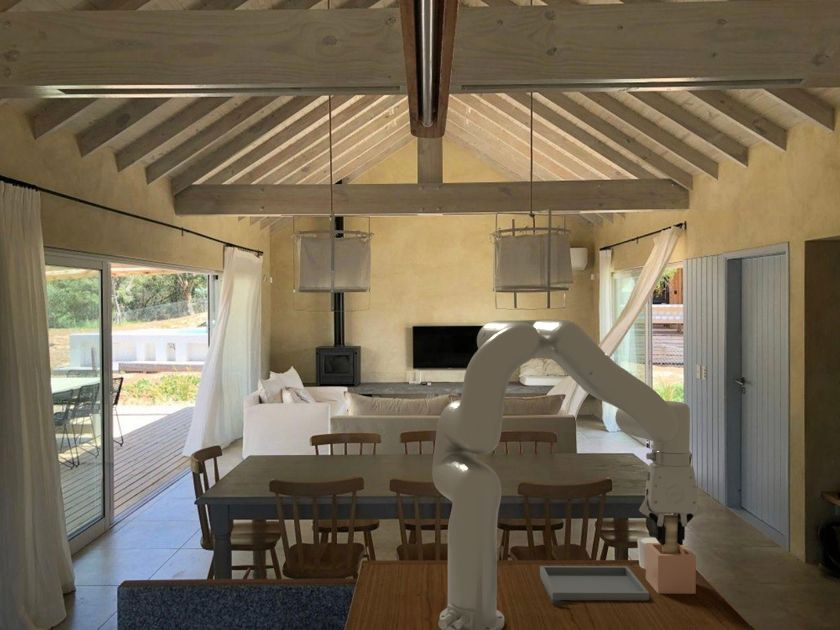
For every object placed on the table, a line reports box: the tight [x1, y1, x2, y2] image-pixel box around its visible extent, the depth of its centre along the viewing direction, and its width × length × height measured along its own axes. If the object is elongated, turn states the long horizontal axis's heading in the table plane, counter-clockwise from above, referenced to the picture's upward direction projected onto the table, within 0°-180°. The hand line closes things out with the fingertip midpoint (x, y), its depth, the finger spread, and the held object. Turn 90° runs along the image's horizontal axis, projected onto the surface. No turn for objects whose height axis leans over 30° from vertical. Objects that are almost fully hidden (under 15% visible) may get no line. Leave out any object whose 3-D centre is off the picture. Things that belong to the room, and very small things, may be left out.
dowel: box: [662, 513, 678, 554], centre depth 153 cm, size 3×3×15 cm
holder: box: [645, 543, 697, 595], centre depth 153 cm, size 8×8×9 cm
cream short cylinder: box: [637, 536, 659, 570], centre depth 165 cm, size 7×7×7 cm
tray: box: [539, 565, 650, 606], centre depth 153 cm, size 20×15×2 cm
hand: (669, 542), depth 153 cm, fingers closed on dowel, 3 cm apart
